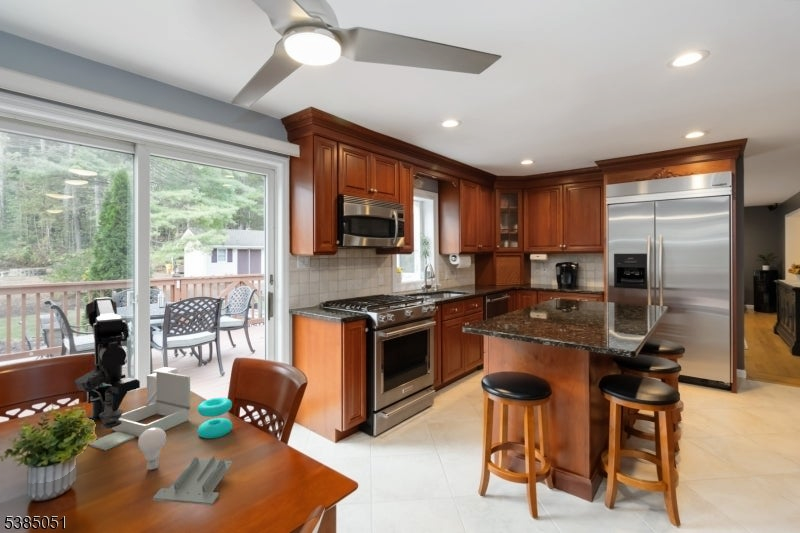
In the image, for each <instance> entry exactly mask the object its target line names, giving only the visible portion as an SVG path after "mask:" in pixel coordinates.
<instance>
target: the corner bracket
mask: <svg viewBox="0 0 800 533" xmlns="http://www.w3.org/2000/svg"><path fill="white" fill-rule="evenodd" d="M156 371H162V372H168V373H174V374H178V368H177V367H167V366H163V367H160V368H157V369H154V370H151V374H150V373H149V374H147V375H146V404H147V403H148V401H149V400H150V399H151V397H152V396H153V395H154V393H155V392H156V390H157V379H156ZM156 400H157V394H156V395H155V397H154V398H153V399H152V401H151V402H150V404H152V403H154V402H155V401H156Z"/></svg>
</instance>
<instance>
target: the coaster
mask: <svg viewBox="0 0 800 533" xmlns="http://www.w3.org/2000/svg"><path fill="white" fill-rule="evenodd" d="M135 438H136V436H133V435H130V434H126V433H122V432H119V431H114V432H112V433H109V434H107V435H105V436H101V437H99V438H97V439H98V440H96V439H95V440H96V441H94V440H93V441H94V442H93V443H91V444H89V445H88V446H90V447H93V448H96V449H97V448H98V449H99V450H104V451H108V450H109V449H111V448H114V447H118V445H121V444H123V443H126V442H128V441H131V440H133V439H135Z"/></svg>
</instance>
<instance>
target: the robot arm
mask: <svg viewBox="0 0 800 533" xmlns="http://www.w3.org/2000/svg"><path fill="white" fill-rule="evenodd" d="M117 307H118V306H117V302H115V301H114V300H113V297H107V296H106V297H96V298H93V301H91V302H89V303H87V304H86V305H85V310H84V311H85V319H87V322H88V324H89V325H90V327H91V328H92V329H93V340H94V341H93V342H94V343H93V344H94V366H93V370H91V371H89V372H87V373H86V374H83V375H82V376H80V377H79V378H76V379H75V380H74V383H75V385H76V387H77V389H78V391H81V392H82V391H83V392H85V393H86V400H87V403H88V404H91V403H92V414H90V415H88V416H87V418H88V417H89V418H88V419H90V418H92V419H91V420H94V419H95V421H101V419H100V417H99V415H100V414H101V413H103V412H104V410H105V403H104V401H105V393H107V394H108V395H110V398H111V404H112V410H113V411H114V412H115V411H117V410H118V409H119V408H120V406H121V404H122V402H123V400H124V399H125V397H126V395H127V393H128V392H130V391H133V390H137V389H140V388H141V382H140V381H141V380H140V379H137V378H134V377H133V378H132V377H127V378H126V374H125V373H123V366H125V365H126V359H127V352H126V350H125V349H124V348H123V346H122V342H127V341H128V338H129V337H130V334H129V328H128V327H129V326H128V324H127V323H126V321H125V320H123V318H122V316H121V315H119V314H117V313H118V309H117ZM110 386H111V390H110V391H107V392H105V391H106V390H108V389H110V388H109V387H110Z"/></svg>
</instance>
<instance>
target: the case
mask: <svg viewBox="0 0 800 533" xmlns="http://www.w3.org/2000/svg"><path fill="white" fill-rule="evenodd" d="M156 379H157V390H156V392H155V393H154V395H153V396H152V397H151V399H150V400H149V401H148V403H147V402H146V404H145V405H144V406H141V407H138V408H135V409H133V410H130V411H126V412H124V413H122V415H121V417H120V418H119V419H118V420H120V421H122V423H121V424H120V425H118V426H116V427H112V431H114V432H116V431H119V432H122V433H126V434H130V435H133V436H135V437H138V438H139V437H140V435H141V434H142V433H143V432H144V431H145V430H147V429H149V428H152V427H158V428H161V429H163V430H164V431H166V430H167V431H168V430H169V429H171V428H174V427H175V426H177V425H180V424H183V423H185V422H186V421H189V410H190V409H191V376H190V375H184V374H178V373H177V374H174V373H168V372H162V371H156ZM156 394H157V400H156V401H155V402H154V403H152V404H150V402H151V401H152V399H153V398H154V397H155V395H156ZM154 415H161V416H163V417H162V418H158V419H157V420H154V421H152V422H149V423H146V424H145V423H141V422H139V421H141V420H144V419H146V418H149V417H151V416H154Z"/></svg>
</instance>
